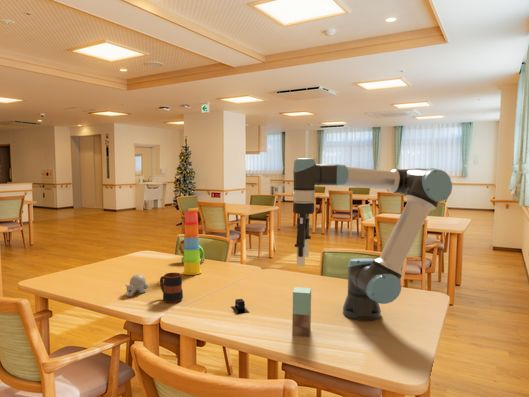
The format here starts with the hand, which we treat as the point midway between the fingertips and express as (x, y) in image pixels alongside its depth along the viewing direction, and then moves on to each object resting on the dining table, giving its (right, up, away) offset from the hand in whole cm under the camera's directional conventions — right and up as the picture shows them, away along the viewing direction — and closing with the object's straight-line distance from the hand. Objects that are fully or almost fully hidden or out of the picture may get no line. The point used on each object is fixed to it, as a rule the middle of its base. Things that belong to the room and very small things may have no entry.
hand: (302, 260), depth 143 cm
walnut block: (0, -27, +2) cm, 27 cm away
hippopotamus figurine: (-74, -23, +44) cm, 89 cm away
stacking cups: (-54, -20, +80) cm, 98 cm away
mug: (-56, -23, +37) cm, 71 cm away
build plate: (-24, -25, +25) cm, 43 cm away
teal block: (0, -19, +2) cm, 19 cm away
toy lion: (-59, -17, +104) cm, 121 cm away
